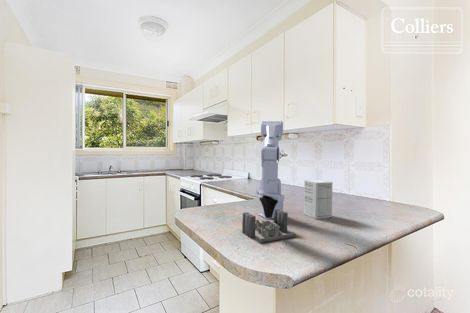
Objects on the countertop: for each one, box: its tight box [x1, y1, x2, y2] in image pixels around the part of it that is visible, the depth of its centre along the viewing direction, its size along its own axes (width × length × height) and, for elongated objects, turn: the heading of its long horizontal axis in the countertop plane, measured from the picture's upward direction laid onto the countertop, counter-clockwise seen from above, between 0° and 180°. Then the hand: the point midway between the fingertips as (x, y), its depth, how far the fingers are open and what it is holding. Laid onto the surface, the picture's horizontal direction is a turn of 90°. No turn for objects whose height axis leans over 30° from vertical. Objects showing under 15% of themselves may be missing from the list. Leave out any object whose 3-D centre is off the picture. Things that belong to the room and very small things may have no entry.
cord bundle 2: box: [273, 209, 289, 233], centre depth 85 cm, size 2×7×7 cm, turn 26°
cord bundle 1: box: [241, 212, 257, 239], centre depth 78 cm, size 2×7×7 cm, turn 26°
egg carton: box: [255, 219, 280, 238], centre depth 82 cm, size 11×8×4 cm
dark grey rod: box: [258, 232, 297, 244], centre depth 74 cm, size 15×1×1 cm, turn 116°
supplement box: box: [303, 179, 333, 220], centre depth 106 cm, size 10×9×17 cm
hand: (268, 217), depth 80 cm, fingers closed
